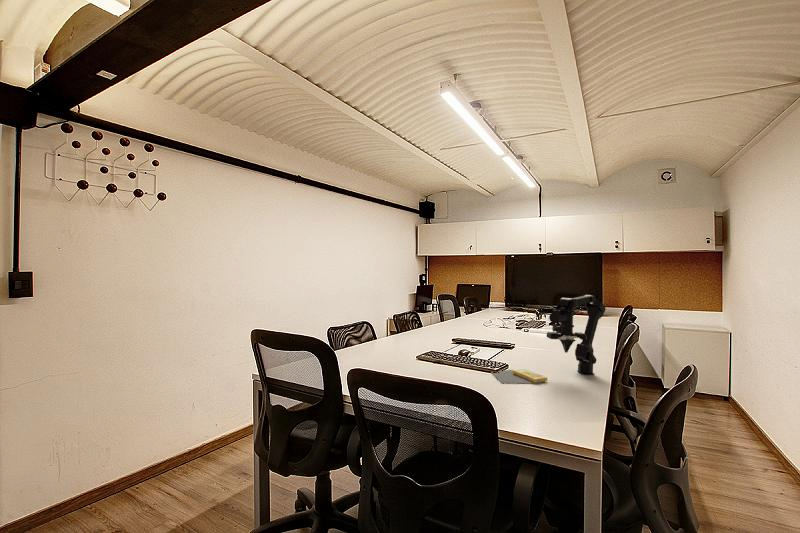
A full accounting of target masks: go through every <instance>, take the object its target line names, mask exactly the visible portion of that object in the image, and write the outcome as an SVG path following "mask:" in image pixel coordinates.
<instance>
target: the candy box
mask: <svg viewBox="0 0 800 533" xmlns="http://www.w3.org/2000/svg"><path fill="white" fill-rule="evenodd" d="M512 370H513V374H516V375H518V376H520V377H523V378H525V379H528V380H530V381H533V382H541V383H542V382H548V377H547V376H545V375H542V374H539V373H537V372H533V371H532V370H529V369H527V368H520V369H512Z"/></svg>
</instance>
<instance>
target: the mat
mask: <svg viewBox="0 0 800 533" xmlns="http://www.w3.org/2000/svg"><path fill="white" fill-rule="evenodd" d="M502 370H503V371H500V372H499V373H493V372H490V373H491V374H492V375H493V376H494V377H495V379H496V380H497V381H498V380H499V381H500V382H501V383H513V385H519V384H522V385H526V384H529V385H531V384H532V385H534V384H535V385H541V384H542V382H533V381H530V380H528V379H525V378H523V377H520V376H518V375H516V374H513V370H514V369H502ZM499 381H498V382H499ZM500 382H499V383H500ZM501 383H500V384H501ZM514 383H516V384H514Z"/></svg>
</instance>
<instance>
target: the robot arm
mask: <svg viewBox="0 0 800 533" xmlns="http://www.w3.org/2000/svg"><path fill="white" fill-rule="evenodd" d="M582 305H584V306H585V308H586V309H587V311H586V313H587V316H588V318H587V323H586V326H585V329H584V333H583V332H574V330H573V329H574V328H575V325H574V314H576V311H575V309H576V308H578V306H582ZM605 311H606V306H605V304H604V302H602V301H601V300H599V299H598V298H597V297H596V296H595V295H591V294H585V295H581V296H576V297H573V298H572V297H571V298H570V297H561V298H560V300H559V301H558V302H557V305H556V307H555V309H553V310H552V312H551V313H550V314H549V316H548V317H549V319H548V320H549V321H550V323H552V324H553V325H552V331H548V332H547V333H546V338H548V339H550V340H558V341H560V342H561V345H562V347H563V348H562V349H563V350H564V353H566V354H568V352H569V350H570V348H571V346H572V345H573V344H574V342H576V339H580V341H581V342H580V343H577V344H576V346H575V349H574V354H575V359H576V360H575V361H578V364H577V370H576V371H577V372H578V373H580V374H581V375H590V376H591V375H592V376H593V375H595V373H594V365H596V364H597V358H596V356H595V355H594V352H595V351H594V350H595V349H594V347H593V343H594V338H595V336H596V335H595V334H596V330H597V327H598V323H599V320H600V319H601V318H603V317H604V315H605V313H606V312H605ZM556 324H558V325H559V326H558V325H556ZM575 338H576V339H575Z"/></svg>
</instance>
